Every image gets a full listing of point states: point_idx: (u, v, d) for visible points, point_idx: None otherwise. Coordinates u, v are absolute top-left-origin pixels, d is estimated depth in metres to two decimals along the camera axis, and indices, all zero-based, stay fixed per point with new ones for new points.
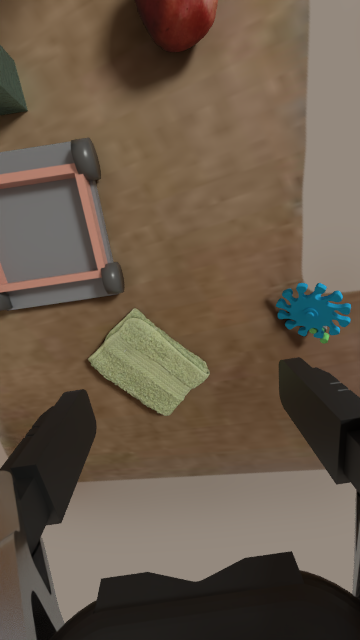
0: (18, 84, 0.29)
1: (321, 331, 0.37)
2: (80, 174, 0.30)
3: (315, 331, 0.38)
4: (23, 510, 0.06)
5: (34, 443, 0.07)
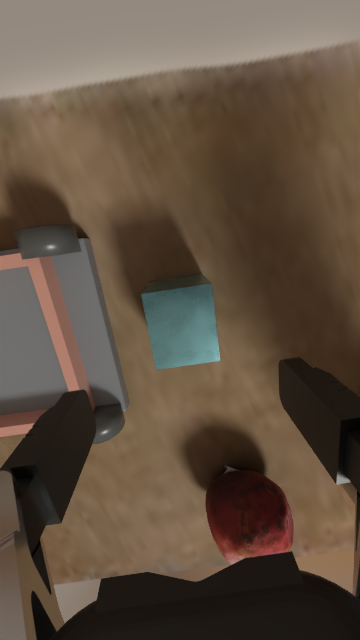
0: None
1: None
2: None
3: None
4: (23, 510, 0.06)
5: (34, 443, 0.07)
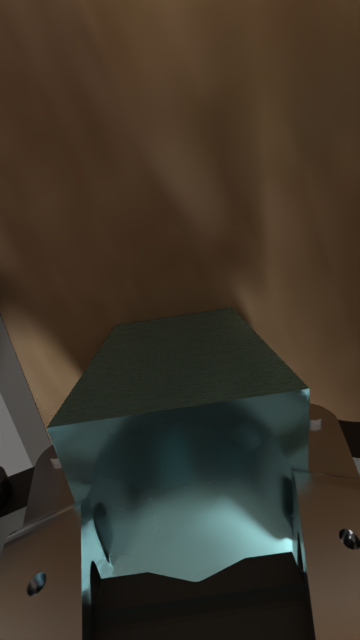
0: None
1: None
2: None
3: None
4: None
5: None
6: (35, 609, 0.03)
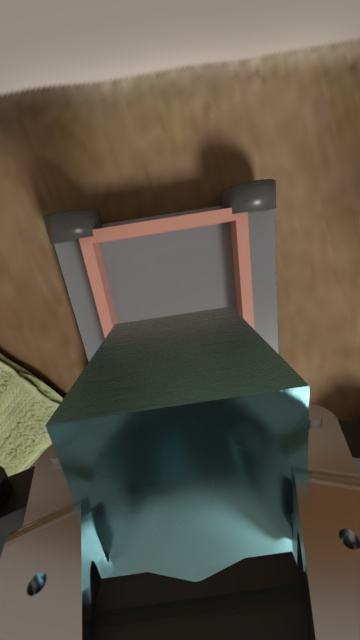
0: None
1: None
2: None
3: None
4: None
5: None
6: (35, 609, 0.03)
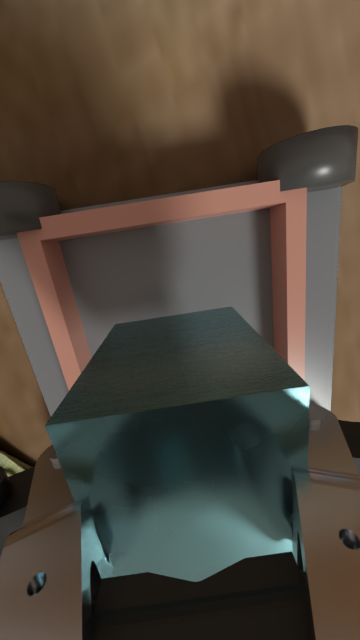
0: None
1: None
2: None
3: None
4: None
5: None
6: (35, 609, 0.03)
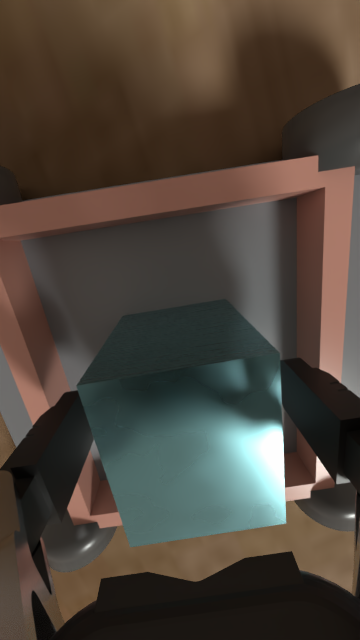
0: None
1: None
2: (310, 494, 0.13)
3: None
4: (23, 510, 0.06)
5: (34, 443, 0.07)
6: None
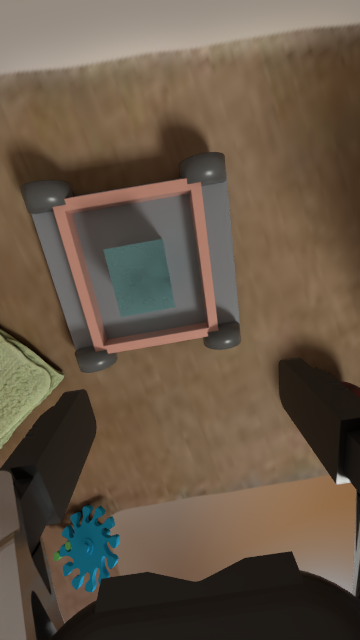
0: None
1: (67, 554, 0.37)
2: (207, 334, 0.27)
3: (67, 548, 0.37)
4: (23, 510, 0.06)
5: (34, 443, 0.07)
6: None
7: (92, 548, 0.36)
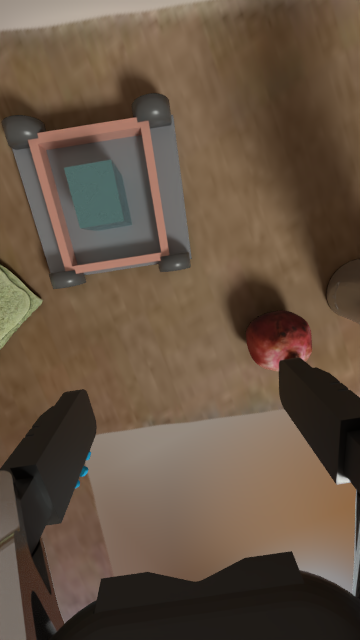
0: (111, 227, 0.32)
1: None
2: (159, 258, 0.32)
3: None
4: (23, 510, 0.06)
5: (34, 443, 0.07)
6: None
7: None
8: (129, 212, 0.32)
